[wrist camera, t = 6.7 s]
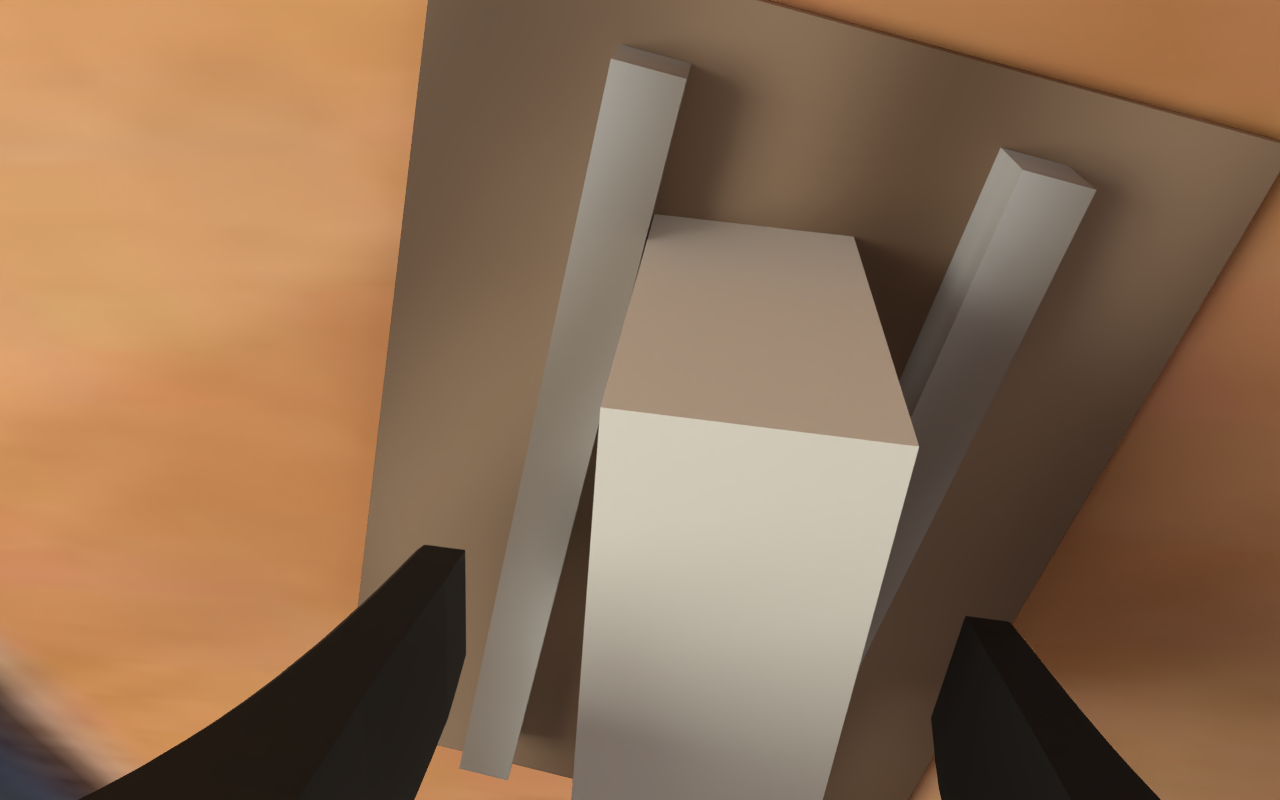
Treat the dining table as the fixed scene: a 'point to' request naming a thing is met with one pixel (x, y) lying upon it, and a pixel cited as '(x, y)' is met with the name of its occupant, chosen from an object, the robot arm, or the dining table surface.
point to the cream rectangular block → (737, 516)
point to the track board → (789, 199)
